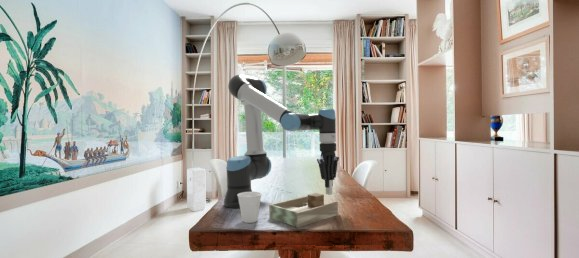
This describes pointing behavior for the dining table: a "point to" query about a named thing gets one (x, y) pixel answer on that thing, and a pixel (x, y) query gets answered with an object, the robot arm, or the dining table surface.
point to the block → (315, 200)
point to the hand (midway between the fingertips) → (329, 194)
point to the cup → (249, 206)
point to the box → (301, 212)
